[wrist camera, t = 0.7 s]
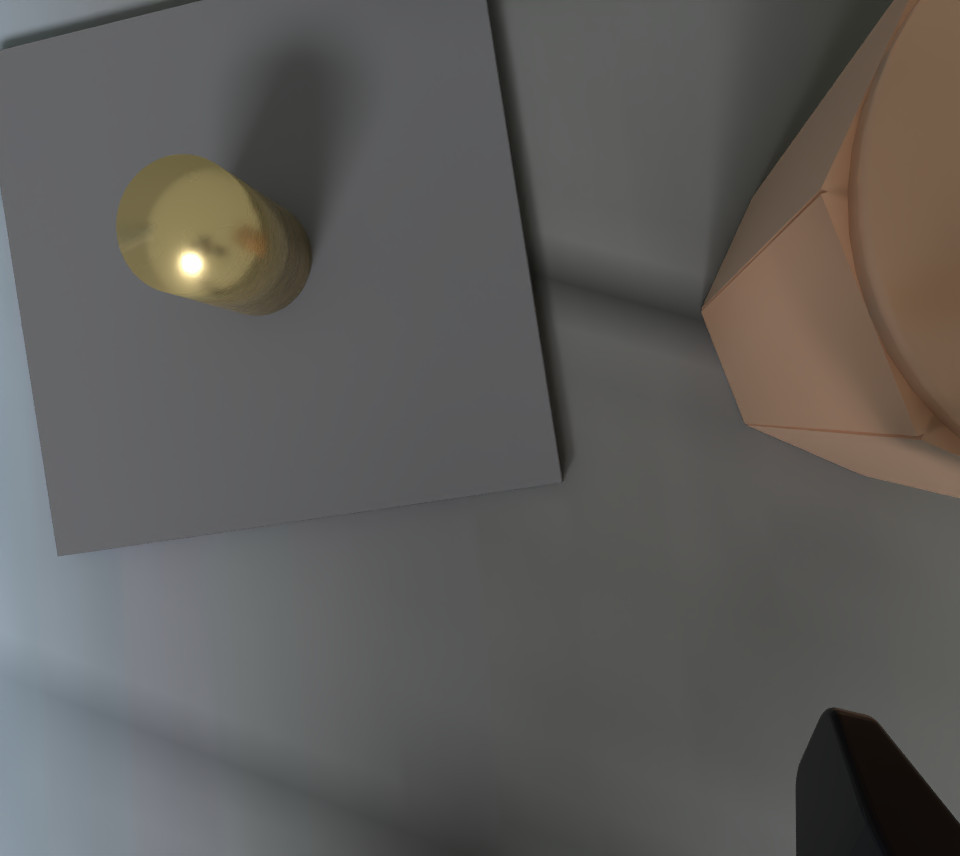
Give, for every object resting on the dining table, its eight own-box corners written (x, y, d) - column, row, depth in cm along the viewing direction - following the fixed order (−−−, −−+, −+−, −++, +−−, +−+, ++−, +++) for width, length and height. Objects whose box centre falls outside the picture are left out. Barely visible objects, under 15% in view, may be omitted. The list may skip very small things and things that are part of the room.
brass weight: (320, 304, 21) (256, 280, 17) (212, 324, 22) (127, 305, 18) (302, 191, 21) (234, 140, 17) (195, 213, 22) (106, 169, 18)
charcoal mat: (562, 481, 21) (562, 482, 21) (71, 552, 23) (58, 556, 23) (478, -54, 21) (475, -68, 21) (-4, 64, 23) (-20, 55, 23)
